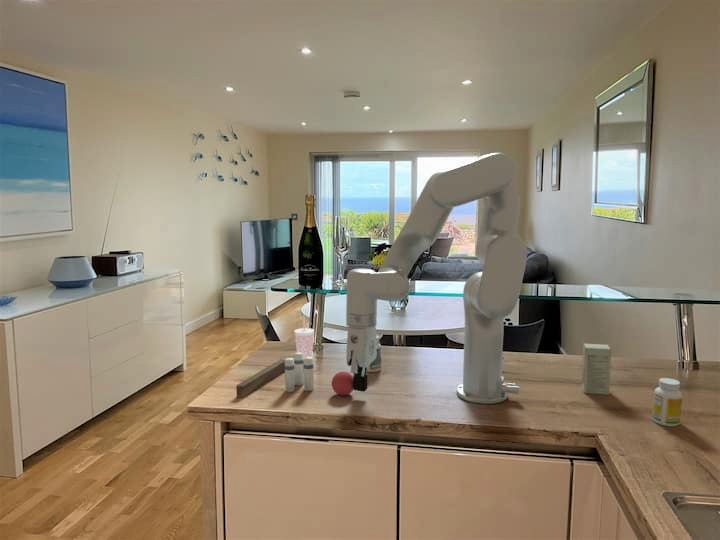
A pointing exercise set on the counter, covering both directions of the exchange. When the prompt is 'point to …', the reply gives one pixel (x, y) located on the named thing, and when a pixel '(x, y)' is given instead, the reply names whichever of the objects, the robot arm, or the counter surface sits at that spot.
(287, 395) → the counter surface
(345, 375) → the ball
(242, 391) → the back rail
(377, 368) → the pill bottle
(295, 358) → the pin rear right
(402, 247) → the robot arm
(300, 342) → the beverage cup
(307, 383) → the pin front
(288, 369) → the pin rear left
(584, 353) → the skincare box
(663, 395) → the supplement bottle
